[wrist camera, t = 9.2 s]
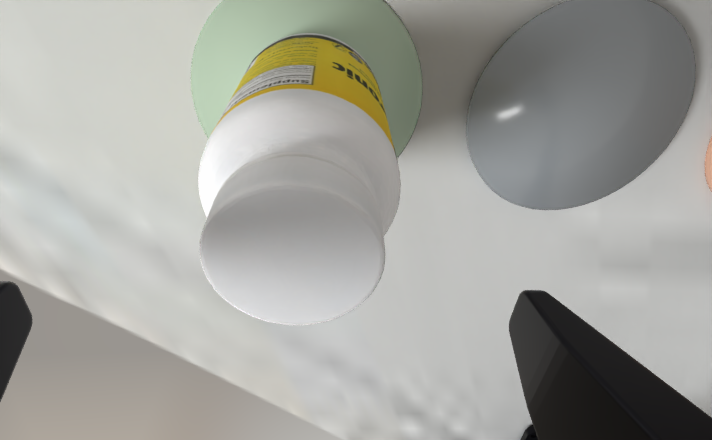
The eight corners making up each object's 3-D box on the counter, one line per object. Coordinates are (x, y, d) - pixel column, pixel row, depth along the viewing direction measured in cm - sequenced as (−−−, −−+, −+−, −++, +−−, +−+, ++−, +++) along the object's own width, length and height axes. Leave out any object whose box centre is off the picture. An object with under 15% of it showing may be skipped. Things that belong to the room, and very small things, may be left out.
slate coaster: (627, 203, 22) (636, 212, 21) (446, 197, 21) (450, 207, 20) (726, 0, 17) (742, 3, 16) (492, -17, 16) (499, -14, 15)
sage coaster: (403, 191, 21) (405, 201, 20) (208, 183, 20) (204, 192, 20) (437, -23, 16) (442, -20, 15) (180, -45, 15) (173, -43, 15)
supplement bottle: (397, 139, 19) (441, 318, 11) (277, 177, 19) (235, 368, 11) (356, 5, 16) (375, 113, 8) (217, 56, 16) (102, 202, 8)
